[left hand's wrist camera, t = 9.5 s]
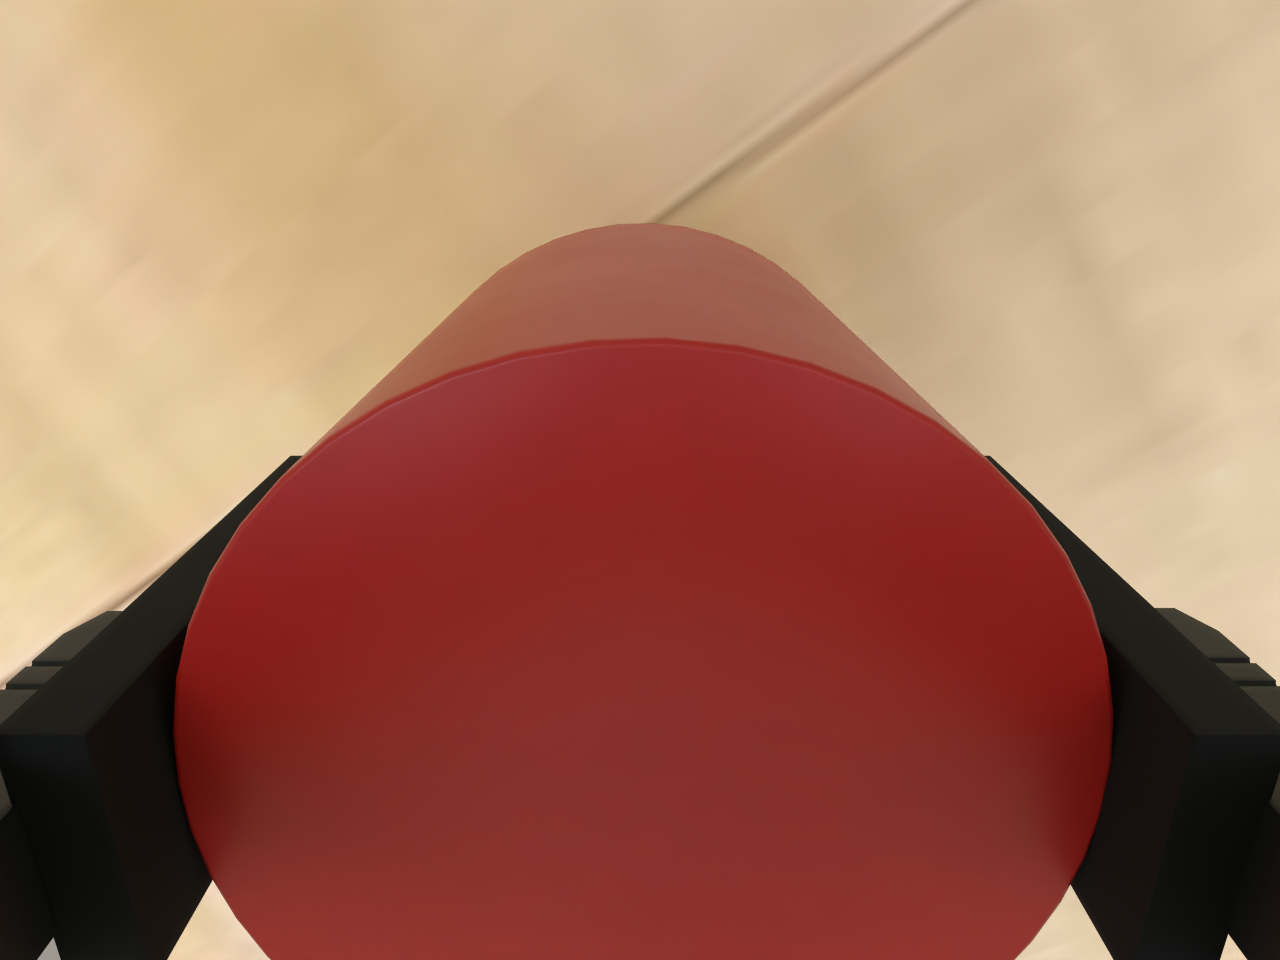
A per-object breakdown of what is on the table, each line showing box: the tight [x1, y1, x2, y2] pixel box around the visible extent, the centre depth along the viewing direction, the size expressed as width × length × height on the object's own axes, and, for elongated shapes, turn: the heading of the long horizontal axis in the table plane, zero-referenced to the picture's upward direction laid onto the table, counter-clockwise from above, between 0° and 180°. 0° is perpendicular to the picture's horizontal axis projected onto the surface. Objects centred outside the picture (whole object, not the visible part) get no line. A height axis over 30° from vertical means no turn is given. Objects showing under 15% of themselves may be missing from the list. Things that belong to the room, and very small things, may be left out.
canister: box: [173, 223, 1113, 960], centre depth 13 cm, size 9×9×9 cm
